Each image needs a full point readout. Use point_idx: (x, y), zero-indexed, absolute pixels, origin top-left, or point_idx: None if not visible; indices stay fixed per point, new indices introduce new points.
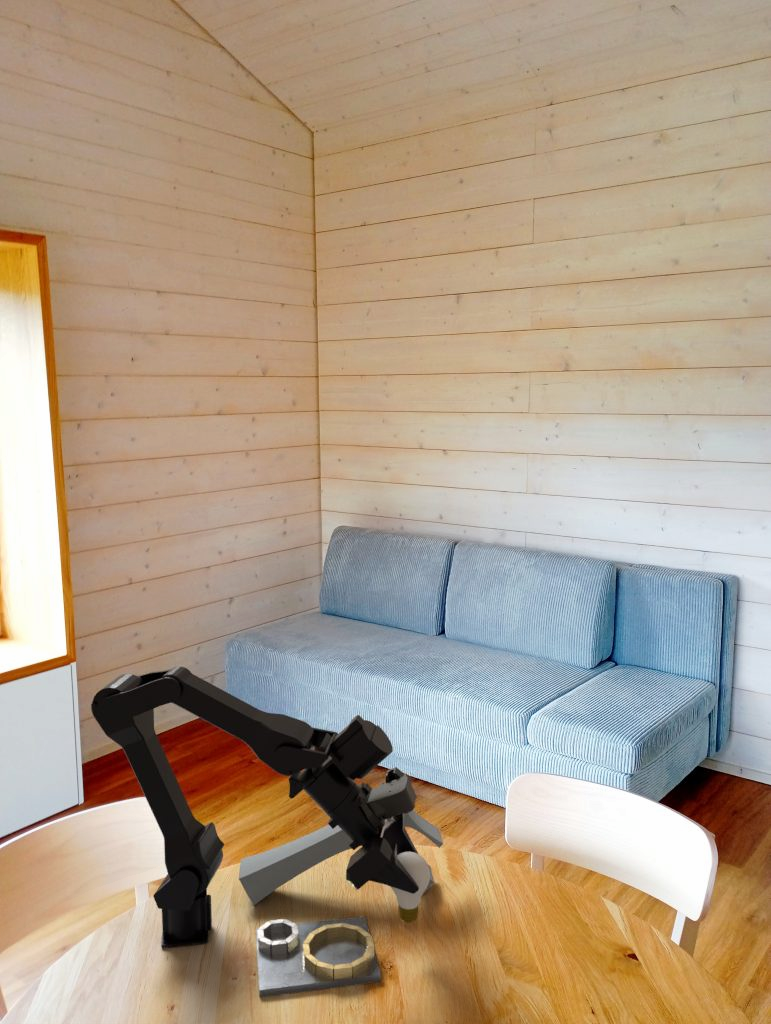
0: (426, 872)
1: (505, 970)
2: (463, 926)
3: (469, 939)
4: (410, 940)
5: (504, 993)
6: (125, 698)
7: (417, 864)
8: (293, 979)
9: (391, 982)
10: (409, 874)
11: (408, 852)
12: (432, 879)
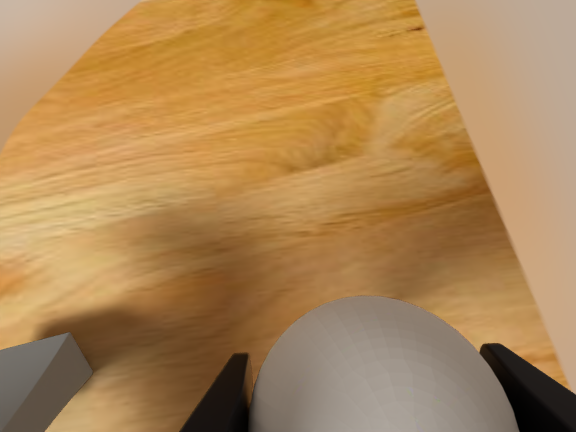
0: (415, 307)
1: (349, 155)
2: (217, 247)
3: (262, 230)
4: None
5: (416, 154)
6: None
7: (457, 371)
8: None
9: None
10: (562, 418)
11: None
12: (56, 339)
